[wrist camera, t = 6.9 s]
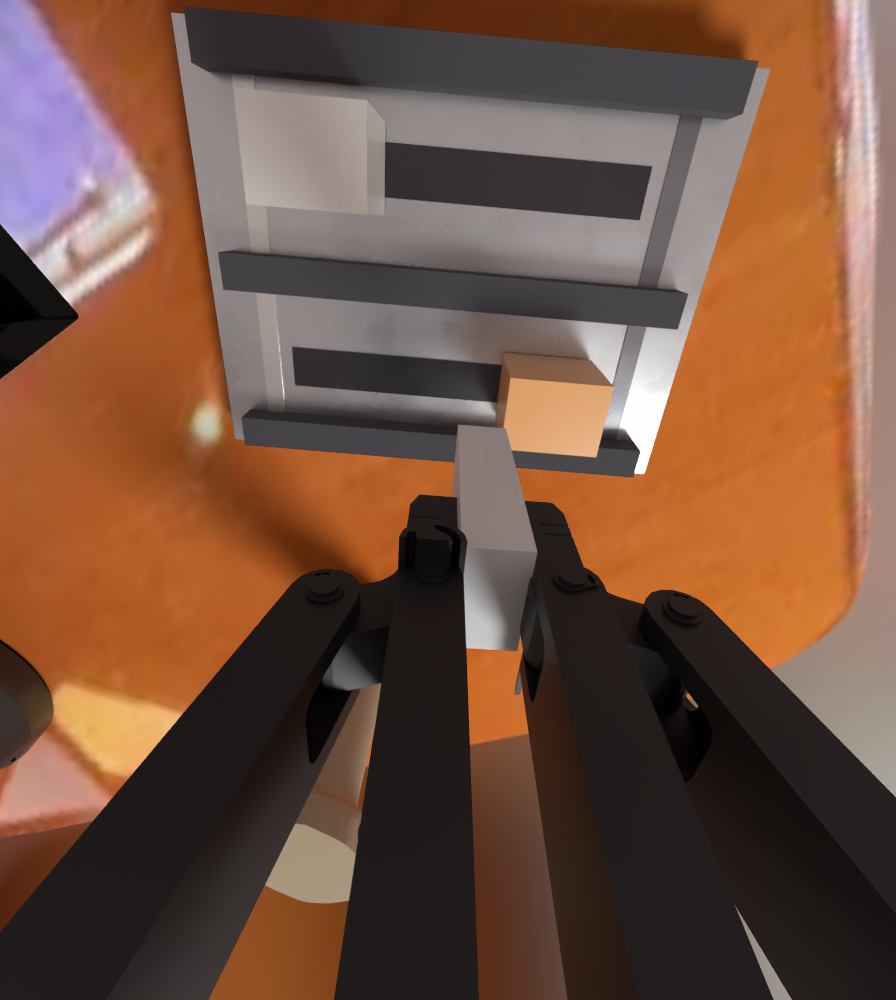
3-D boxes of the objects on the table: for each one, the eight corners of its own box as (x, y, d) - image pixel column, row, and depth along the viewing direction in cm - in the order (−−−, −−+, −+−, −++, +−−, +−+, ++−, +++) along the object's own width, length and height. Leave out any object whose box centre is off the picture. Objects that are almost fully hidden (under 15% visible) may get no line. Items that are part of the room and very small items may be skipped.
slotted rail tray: (254, 435, 25) (245, 444, 24) (200, 19, 17) (183, 6, 16) (626, 466, 25) (633, 477, 24) (741, 70, 17) (758, 60, 16)
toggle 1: (284, 206, 20) (246, 204, 16) (277, 112, 18) (233, 87, 15) (384, 214, 20) (367, 215, 16) (385, 121, 18) (366, 99, 15)
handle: (380, 559, 31) (317, 813, 18) (421, 630, 33) (393, 893, 20) (312, 580, 32) (205, 835, 19) (357, 648, 34) (293, 909, 22)
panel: (246, 427, 26) (234, 439, 25) (191, 26, 18) (170, 12, 17) (635, 460, 27) (644, 474, 25) (748, 79, 19) (771, 68, 17)
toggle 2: (495, 415, 24) (500, 449, 20) (503, 352, 22) (510, 377, 19) (577, 422, 24) (596, 457, 20) (591, 360, 22) (614, 386, 19)
